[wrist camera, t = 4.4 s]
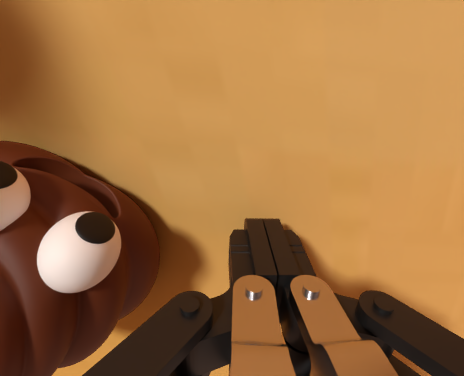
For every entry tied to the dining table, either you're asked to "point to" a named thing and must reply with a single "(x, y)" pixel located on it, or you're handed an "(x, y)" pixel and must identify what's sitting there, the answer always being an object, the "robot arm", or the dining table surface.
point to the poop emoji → (65, 261)
